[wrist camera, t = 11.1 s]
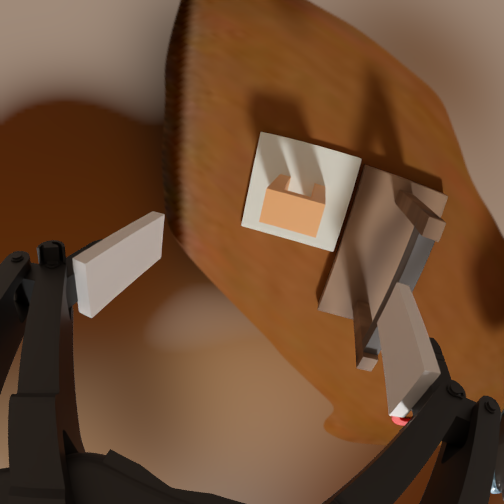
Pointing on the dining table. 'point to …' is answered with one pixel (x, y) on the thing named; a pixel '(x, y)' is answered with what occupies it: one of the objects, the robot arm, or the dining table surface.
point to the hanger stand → (381, 252)
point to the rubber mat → (302, 184)
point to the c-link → (293, 207)
